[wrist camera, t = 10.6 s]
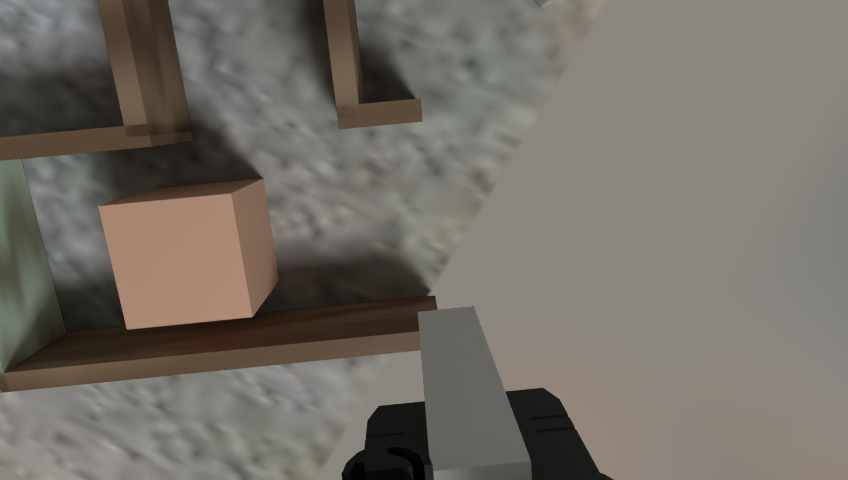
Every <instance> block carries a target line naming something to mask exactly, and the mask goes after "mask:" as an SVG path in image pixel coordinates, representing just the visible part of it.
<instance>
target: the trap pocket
mask: <svg viewBox="0 0 848 480" xmlns="http://www.w3.org/2000/svg"><path fill="white" fill-rule="evenodd" d="M97 1H98V6H99V11H100V15H101V20H102V25H103V29H104V34H105V39H106V43H107V48H108V53H109V57H110V62H111V67H112V71H113V76H114V81H115V85H116V90H117V95H118V99H119V104H120V109H121V113H122V118H123V123H124V126H128V125H129V126H130V125H132V127H133V125H134V127H135V128H134V127H133V128H134V129H135V131H136V128H137V127H136V125H137V126H139V125H140V124H141V125H140V126H139V127H140V128H141V130H142V124H144V125H145V124H146V125H147V127H148V131H146V130H147V129H145V130H144V129H143V130H144V131H143V130H142V131H143V132H146V133H147V132H148V133H149V132H151V133H149V134H150V135H155V134H156V135H158V134H169V133H178V132H179V133H181V132H182V131H183V132H192V129H191V123H190V118H189V113H188V107H187V102H186V97H185V91H184V86H183V80H182V75H181V70H180V64H179V59H178V54H177V48H176V43H175V37H174V32H173V27H172V21H171V16H170V11H169V5H168V0H97ZM323 5H324V13H325V21H326V29H327V37H328V45H329V53H330V61H331V69H332V77H333V85H334V93H335V101H336V106H337V107H338V108H337V107H336V109H337V112H338V113H337V115H338V118H341V117H345V116H346V117H351V116H352V115H353V114H354V115H353V116H355V115H356V116H360V111H359V104H366V102H365V93H364V84H363V75H362V66H361V57H360V48H359V39H358V30H357V21H356V12H355V3H354V0H323ZM352 105H353V106H352ZM345 106H346V107H345ZM354 106H355V107H354ZM356 107H357V108H356ZM348 108H349V109H348ZM338 109H341V111H340V110H338ZM345 109H346V110H345ZM351 109H353V110H351ZM357 109H358V110H357ZM344 110H345V111H344ZM348 110H349V111H348ZM340 112H341V113H342V115H343V114H344V115H343V116H342V115H341V113H340ZM349 112H350V113H349ZM356 112H359V113H358V114H357V113H356ZM346 113H347V114H346ZM348 114H349V115H350V116H349V115H348ZM143 127H144V126H143ZM145 127H146V126H145ZM128 128H129V130H130V129H131V128H130V127H128ZM133 128H132V129H131V131H130V132H131V133H132V132H133V134H134V130H133ZM182 128H183V129H182ZM171 129H172V130H171ZM175 129H176V130H175ZM126 130H128V129H125V131H126ZM129 130H128V131H129ZM132 130H133V131H132ZM141 130H140V131H141ZM166 130H167V131H166ZM186 130H187V131H186ZM128 131H126V133H127V132H128ZM164 131H165V132H164ZM136 132H138V134H139V128H138V130H137V131H136ZM153 132H154V134H153ZM131 133H130V134H131ZM141 133H142V132H140V134H141ZM148 133H147V135H148ZM128 134H129V133H128ZM128 134H127V135H128ZM130 134H129V136H130ZM133 134H132V135H133ZM138 134H137V133H136V134H134V136H135V135H137V136H138ZM140 134H139V135H140ZM142 134H143V133H142ZM143 135H144V136H145V133H144V134H143ZM143 135H142V136H143ZM147 135H146V136H147ZM129 136H128V137H129ZM134 136H133V137H134ZM140 136H141V135H140ZM135 137H136V136H135Z"/></svg>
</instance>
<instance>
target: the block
mask: <svg viewBox="0 0 848 480" xmlns="http://www.w3.org/2000/svg"><path fill="white" fill-rule="evenodd" d="M98 207H99V212H100V216H101V220H102V225H103V229H104V233H105V238H106V242H107V246H108V251H109V255H110V259H111V264H112V268H113V272H114V276H115V281H116V285H117V289H118V294H119V298H120V302H121V307H122V311H123V315H124V320H125V324H126V328H127V330H128V329H138V328H148V327H158V326H168V325H178V324H188V323H198V322H208V321H218V320H228V319H238V318H248V317H253V316H254V314H255V313H256V312H257V310H258V309H259V307H260V306H261V305H262V303H263V302H264V301H265V299H266V298H267V297H268V295H269V294H270V292H271V291H272V290H273V288H274V287H275V286H276V284H277V283H278V282H279V274H278V267H277V261H276V255H275V248H274V242H273V236H272V230H271V223H270V217H269V211H268V205H267V198H266V192H265V186H264V179H263V178H262V179H252V180H241V181H231V182H220V183H210V184H199V185H189V186H178V187H167V188H157V189H153V190H150V191H146V192H143V193H140V194H137V195H133V196H130V197H127V198H123V199H120V200H117V201H114V202H110V203H107V204H104V205H100V206H98Z"/></svg>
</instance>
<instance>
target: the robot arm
mask: <svg viewBox="0 0 848 480" xmlns="http://www.w3.org/2000/svg"><path fill="white" fill-rule="evenodd" d="M418 322H419V335H420V347H421V359H422V372H423V384H424V397H425V401H424V402H414V403H404V404H394V405H384V406H378V408H377V409H376V410H375V412H374V413H373V414H372V416H371V417H370V418H369V419H368V422H367V431H366V440H365V449H364V450H362V451H360V452H358V453H357V454H356V455H355V456H353V457H352V458H351V459H350V460H349V461H348V462H347V463H346V465H345V468H344V470H343V472H342V480H613V479H612V478H610V477H608V476H606V475H605V474H602V473H600V472H599V470H598V469H597V467H596V465H595V463H594V462H593V460H592V458H591V456H590V454H589V452H588V450H587V449H586V447H585V445H584V443H583V441H582V439H581V438H580V436H579V434H578V432H577V430H575V428H574V425H573V423H572V421H571V419H570V418H569V417H568V414H567V412H566V410H565V408H564V407H563V405H562V403H561V401H560V399H558V398H557V397H555V396H554V395H553V394H551V393H550V392H548V391H547V390H545V389H544V388H537V389H527V390H517V391H507V392H505V390H504V387H503V385H502V381H501V379H500V376H499V373H498V371H497V368H496V365H495V363H494V360H493V357H492V354H491V352H490V349H489V346H488V344H487V341H486V338H485V336H484V333H483V330H482V327H481V325H480V322H479V319H478V317H477V314H476V311H475V309H474V306H472V307H463V308H452V309H441V310H431V311H421V312H418Z"/></svg>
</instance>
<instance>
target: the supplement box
mask: <svg viewBox="0 0 848 480" xmlns="http://www.w3.org/2000/svg"><path fill="white" fill-rule="evenodd" d="M536 1H537V3H538V4H539V5H540V7H546V6H547V5H549V4H550V3H551V2H553V1H554V0H536Z"/></svg>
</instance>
